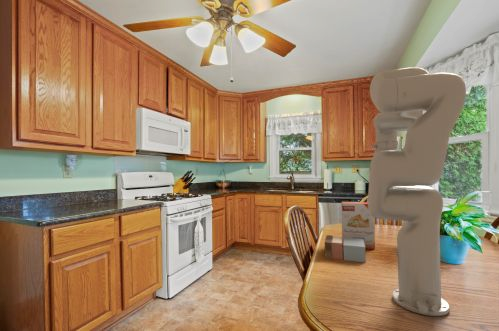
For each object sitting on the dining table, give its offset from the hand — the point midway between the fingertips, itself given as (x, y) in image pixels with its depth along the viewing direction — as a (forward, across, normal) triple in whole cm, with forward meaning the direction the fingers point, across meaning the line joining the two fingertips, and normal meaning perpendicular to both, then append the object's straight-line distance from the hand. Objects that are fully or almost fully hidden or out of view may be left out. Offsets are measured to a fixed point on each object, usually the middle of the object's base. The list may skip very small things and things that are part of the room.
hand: (387, 192), depth 100 cm
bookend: (+27, -23, 0) cm, 36 cm away
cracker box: (+27, -11, +15) cm, 33 cm away
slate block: (+27, -13, 0) cm, 30 cm away
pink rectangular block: (+27, -20, 0) cm, 34 cm away
